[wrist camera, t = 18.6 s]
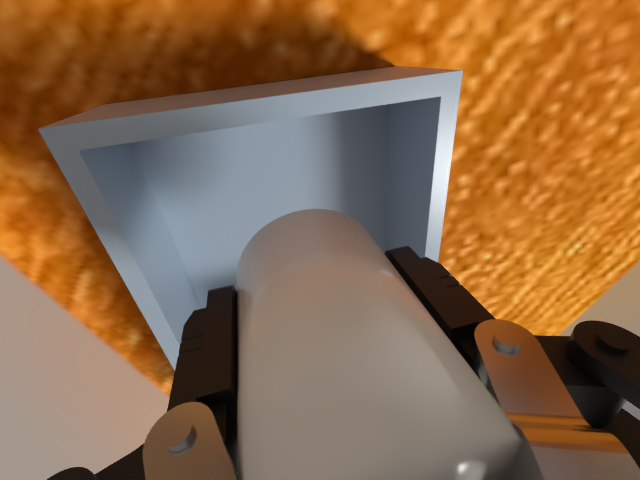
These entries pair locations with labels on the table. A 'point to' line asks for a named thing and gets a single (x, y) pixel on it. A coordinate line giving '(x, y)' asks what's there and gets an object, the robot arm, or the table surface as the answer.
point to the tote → (256, 174)
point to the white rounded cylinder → (351, 367)
